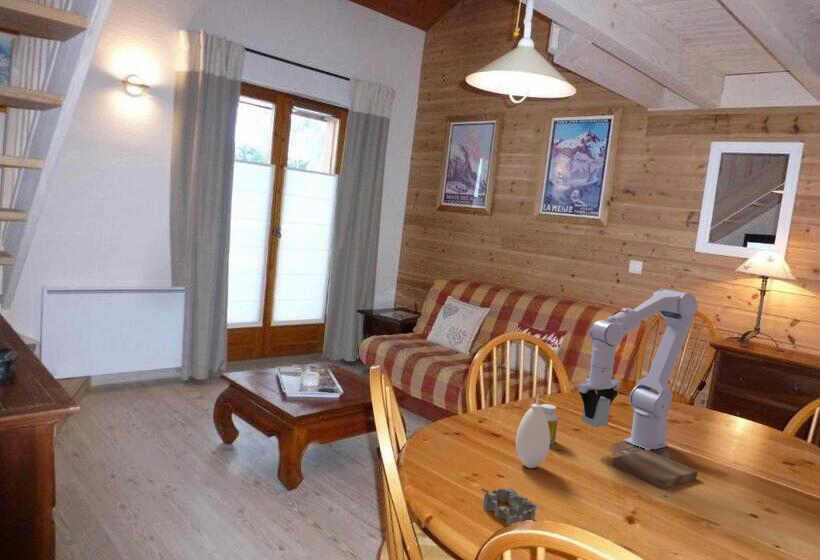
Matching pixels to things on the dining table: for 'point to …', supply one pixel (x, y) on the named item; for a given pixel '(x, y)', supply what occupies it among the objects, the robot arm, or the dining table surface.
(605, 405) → the blue-grey block
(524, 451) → the sauce bottle
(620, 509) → the dining table surface
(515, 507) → the grey hollow block
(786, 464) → the dining table surface
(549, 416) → the supplement bottle
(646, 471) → the walnut board
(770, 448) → the dining table surface
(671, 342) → the robot arm
